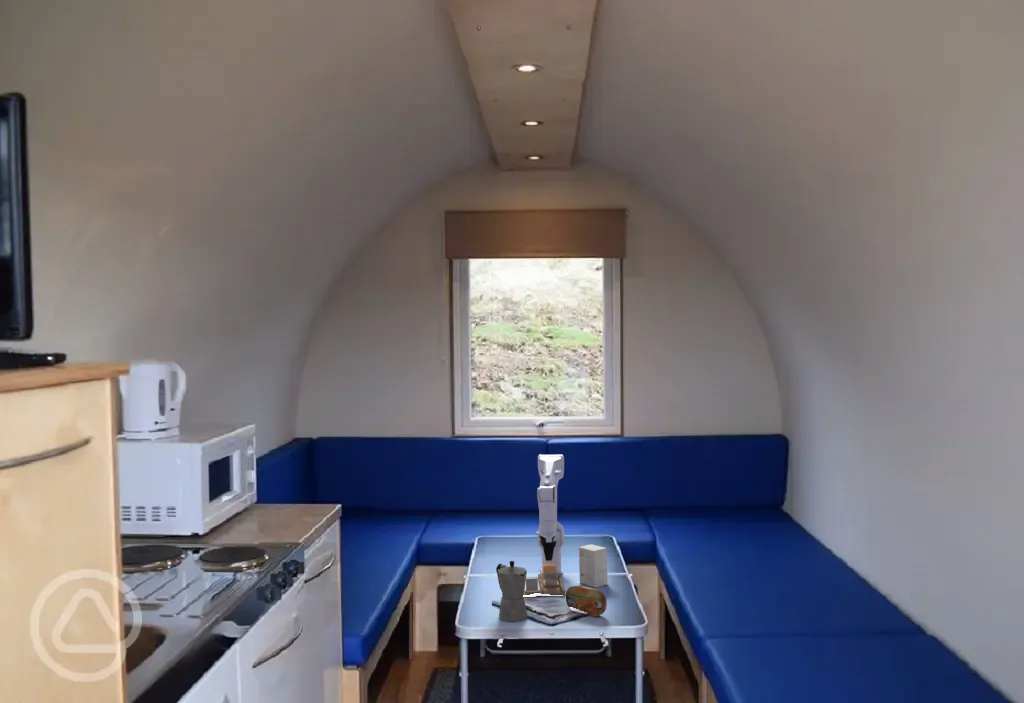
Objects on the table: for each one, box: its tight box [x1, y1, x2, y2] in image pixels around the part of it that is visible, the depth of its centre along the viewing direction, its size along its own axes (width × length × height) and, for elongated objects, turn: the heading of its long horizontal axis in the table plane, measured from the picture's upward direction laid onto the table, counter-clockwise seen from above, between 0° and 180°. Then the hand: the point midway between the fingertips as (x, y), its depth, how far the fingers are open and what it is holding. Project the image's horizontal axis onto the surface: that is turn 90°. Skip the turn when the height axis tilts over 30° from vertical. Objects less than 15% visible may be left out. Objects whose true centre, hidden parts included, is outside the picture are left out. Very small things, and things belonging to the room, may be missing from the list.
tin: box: [564, 585, 608, 618], centre depth 280 cm, size 15×3×8 cm, turn 47°
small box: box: [578, 543, 608, 589], centre depth 311 cm, size 8×6×13 cm
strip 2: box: [540, 572, 559, 587], centre depth 313 cm, size 15×5×5 cm, turn 1°
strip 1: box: [524, 576, 540, 593], centre depth 307 cm, size 15×5×5 cm, turn 1°
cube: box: [543, 562, 556, 579], centre depth 315 cm, size 4×4×4 cm
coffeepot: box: [495, 560, 528, 623], centre depth 278 cm, size 15×9×18 cm, turn 33°
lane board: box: [523, 573, 566, 597], centre depth 307 cm, size 20×15×2 cm
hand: (548, 557), depth 312 cm, fingers open, 7 cm apart
